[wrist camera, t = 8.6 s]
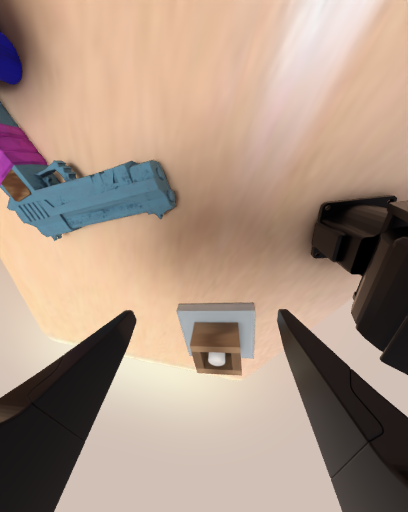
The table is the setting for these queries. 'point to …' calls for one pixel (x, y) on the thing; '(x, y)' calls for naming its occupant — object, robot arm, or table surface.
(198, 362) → the collar
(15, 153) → the toy gun
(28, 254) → the table surface
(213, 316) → the peg base
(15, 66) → the toy
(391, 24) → the table surface
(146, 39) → the table surface
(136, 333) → the table surface
